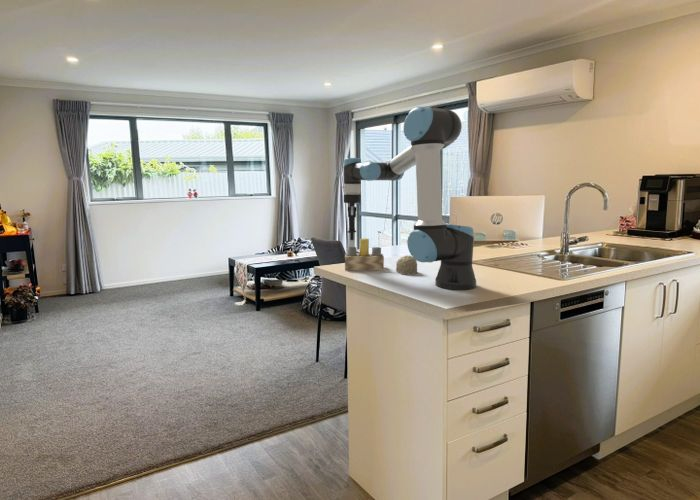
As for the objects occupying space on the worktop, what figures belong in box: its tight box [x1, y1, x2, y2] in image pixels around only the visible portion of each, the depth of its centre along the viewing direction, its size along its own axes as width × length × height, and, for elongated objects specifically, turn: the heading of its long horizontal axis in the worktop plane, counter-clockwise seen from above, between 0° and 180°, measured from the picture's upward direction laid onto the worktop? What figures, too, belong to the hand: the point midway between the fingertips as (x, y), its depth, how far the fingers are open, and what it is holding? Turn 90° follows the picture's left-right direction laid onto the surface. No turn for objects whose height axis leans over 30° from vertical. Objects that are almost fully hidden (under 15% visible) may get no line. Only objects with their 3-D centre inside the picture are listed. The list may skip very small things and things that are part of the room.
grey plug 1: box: [346, 246, 357, 256], centre depth 209 cm, size 4×4×9 cm
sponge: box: [395, 255, 418, 275], centre depth 201 cm, size 9×10×10 cm
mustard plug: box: [359, 238, 370, 256], centre depth 209 cm, size 4×4×9 cm
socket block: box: [344, 253, 385, 271], centre depth 210 cm, size 17×8×6 cm, turn 90°
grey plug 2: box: [371, 246, 382, 256], centre depth 209 cm, size 4×4×9 cm
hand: (351, 246), depth 209 cm, fingers closed
